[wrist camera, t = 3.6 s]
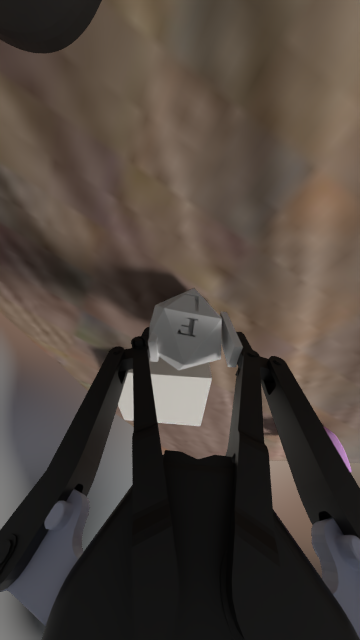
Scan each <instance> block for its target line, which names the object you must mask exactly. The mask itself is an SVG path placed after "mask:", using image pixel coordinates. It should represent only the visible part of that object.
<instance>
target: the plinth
mask: <svg viewBox="0 0 360 640" xmlns="http://www.w3.org/2000/svg"><path fill="white" fill-rule="evenodd" d="M149 366H150V373H151V380H152V387H153V394H154V401H155V408H156V415H157V422H158V423H168V424H181V425H193V426H201V422H202V418H203V414H204V409H205V405H206V401H207V397H208V393H209V389H210V384H211V380H212V376H211V369H210V362H208V363H204V364H200V365H197V366H193V367H189V368H185V369H182V370H177V369H176V368H174V367H173V366H172V365H170V364H169V363H167V362H166V361H165V360H163V359H162V358H160V357H159V359H158V362H151V361H150V360H149ZM118 406H119V408H120V411H121V413H122V415H123V418H124V420H132V421H134V408H133V369H131V370H128V374H127V377H126V380H125V383H124V386H123V390H122V393H121V396H120V399H119V403H118Z"/></svg>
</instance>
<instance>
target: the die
mask: <svg viewBox="0 0 360 640" xmlns="http://www.w3.org/2000/svg"><path fill="white" fill-rule="evenodd" d="M221 327H222V318H221V316H220V315H219V314H218V313H217V312H216V311H215V310H214V309H213V308H212V307H211V306H210V305H209V303H208V302H207V301H206V300H205V299H204V298H203V297H202V296H201V295H200V294H199V293H198V292H197V290H196V289H195V288H193V289H190V290H188V291H186V292H184V293H181V294H179V295H177V296H175V297H172V298H170V299H168V300H166V301H163V302H161V303H159V304H157V305H155V308H154V311H153V315H152V319H151V323H150V330H149V337H150V335H151V332H152V333H154V334H156V335H158V354H159V357H160V358H162V359H163V360H165V361H166V362H167V363H169V364H170V365H172V366H173V367H174V368H176V369H177V370H182V369H185V368H189V367H193V366H197V365H200V364H204V363H208V362H212V361H215V360H219V359H221Z"/></svg>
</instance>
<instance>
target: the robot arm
mask: <svg viewBox="0 0 360 640" xmlns="http://www.w3.org/2000/svg"><path fill="white" fill-rule="evenodd" d="M101 1H102V0H0V39H1V40H3V41H4V42H6V43H8V44H10V45H12V46H14V47H16V48H19V49H21V50H25V51H28V52H33V53H52V52H55V51H59V50H61V49H63V48H65V47H67V46H68V45H70V44H72V43H73V42H74V41H75V40H76V39H77V38H78V37H79V36H80V35H81V34H82V33H83V32H84V31H85V29H86V28H87V26H88V25H89V24H90V22H91V20H92V19H93V17H94V15H95V14H96V11H97V9H98V7H99V5H100V3H101ZM220 316H221V318H222V327H221V344H222V347H223V351H224V354H225V358H226V361H227V365H228V367H236V365H237V364H238V370H237V372H236V376H237V377H236V385H235V394H234V402H233V410H232V418H231V427H230V435H229V443H228V449H227V453H226V456H219V455H213V456H209V457H206V458H202V459H195V458H193V457H191V456H189V455H187V454H185V453H183V452H179V451H169V450H165V453H164V455H162V450H161V443H160V436H159V429H158V422H157V415H156V408H155V401H154V394H153V387H152V380H151V373H150V366H149V360H150V361H151V362H158V359H159V354H158V335H156V334H154V333H152V332H151V335H150V337H149V330H150V327H147V328H146V329H145V330H144V332H143V334H142V336H138V337H135V338H133V339H132V341H131V344H132V348H131V349H126V350H124V348H123V347H114V348H112V349H111V350H110V351H109V353H108V355H107V357H106V359H105V360H104V362H103V364H102V366H101V368H100V370H99V372H98V374H97V376H96V378H95V379H94V381H93V383H92V385H91V387H90V389H89V391H88V393H87V395H86V397H85V399H84V400H83V402H82V404H81V406H80V408H79V410H78V412H77V414H76V415H75V418H74V419H73V421H72V423H71V425H70V427H69V429H68V431H67V433H66V434H65V436H64V438H63V440H62V442H61V444H60V446H59V448H58V450H57V452H56V453H55V455H54V457H53V459H52V461H51V463H50V465H49V467H48V469H47V471H46V472H45V473H44V474H43V476H42V477H41V478H40V480H39V481H38V482H37V484H36V485H35V486H34V487H33V489H32V490H31V491H30V492H29V494H28V495H27V496H26V498H25V499H24V500H23V502H22V503H21V504H20V505H19V507H18V508H17V509H16V511H15V512H14V513H13V514H12V516H11V517H10V518H9V520H8V521H7V522H6V524H5V525H4V526H3V527H2V529H1V530H0V592H2V591H6V590H7V591H9V592H11V594H13V595H14V596H15V597H16V598H17V599H18V600H19V601H20V602H21V603H22V604H23V605H24V606H25V607H26V608H27V609H28V610H29V611H30V612H31V613H32V614H33V615H34V616H35V617H37V618H38V619H39V620H40V621H41V622H42V623H43V624H44V625H45V630H44V633H43V637H42V640H360V488H359V487H358V485H357V483H356V481H355V480H354V478H353V476H352V475H351V473H350V471H349V469H348V468H347V466H346V464H345V463H344V461H343V459H342V458H341V456H340V454H339V452H338V451H337V449H336V447H335V446H334V444H333V442H332V441H331V439H330V437H329V435H328V434H327V432H326V430H325V429H324V427H323V425H322V423H321V422H320V420H319V418H318V417H317V415H316V413H315V412H314V410H313V408H312V406H311V405H310V403H309V401H308V400H307V398H306V396H305V395H304V393H303V391H302V389H301V388H300V386H299V384H298V383H297V381H296V379H295V378H294V376H293V374H292V372H291V371H290V369H289V367H288V366H287V364H286V362H285V361H284V360H282V359H281V358H279V357H276V356H271V357H270V358H269V359H267V358H263V357H260V356H259V354H258V353H257V352H255V351H254V350H252V348H251V346H250V344H249V343H248V341H247V339H246V337H245V335H244V334H243V333H242V332H236V331H235V329H234V327H233V325H232V322H231V320H230V318H229V316H228V314H227V312H221V313H220ZM131 369H133V408H134V433H133V437H132V444H133V445H132V449H133V450H132V455H133V456H132V457H133V485H132V486H131V488H130V489H129V490H128V492H127V493H126V494H125V496H124V497H123V499H122V500H121V501H120V503H119V504H118V505H117V507H116V508H115V510H114V511H113V512H112V514H111V515H110V516H109V518H108V519H107V521H106V522H105V523H104V525H103V526H102V527H101V529H100V530H99V532H98V533H97V534H96V536H95V537H94V538H93V540H92V541H91V542H90V544H89V545H88V547H87V548H86V550H85V551H84V552H83V548H82V534H83V529H84V526H85V523H86V520H87V517H88V514H89V500H88V498H87V494H88V492H89V490H90V488H91V485H92V483H93V481H94V478H95V475H96V472H97V470H98V467H99V463H100V460H101V457H102V454H103V450H104V447H105V444H106V441H107V438H108V435H109V431H110V428H111V425H112V422H113V419H114V415H115V412H116V409H117V406H118V403H119V399H120V396H121V393H122V390H123V386H124V383H125V380H126V377H127V374H128V370H131ZM261 384H262V387H263V390H264V393H265V396H266V399H267V402H268V405H269V408H270V411H271V413H272V416H273V419H274V422H275V425H276V428H277V431H278V434H279V437H280V440H281V443H282V446H283V449H284V452H285V455H286V458H287V461H288V464H289V467H290V469H291V472H292V475H293V478H294V481H295V484H296V487H297V490H298V493H299V495H300V498H301V501H302V503H303V505H304V507H305V510H306V512H307V514H308V517H309V518H310V521H311V523H312V525H313V526H312V545H313V548H314V550H315V552H316V554H317V556H318V557H319V559H320V563H321V568H322V578H321V577H320V575H319V574H318V573H317V572H316V570H315V568H314V567H313V565H312V564H311V563H310V561H309V560H308V558H307V557H306V556H305V554H304V553H303V551H302V550H301V548H300V547H299V546H298V544H297V543H296V541H295V540H294V538H293V537H292V536H291V534H290V533H289V531H288V530H287V528H286V527H285V526H284V524H283V523H282V521H281V520H280V518H279V517H278V516H277V514H276V513H275V512H274V510H273V508H272V493H271V480H270V465H269V453H268V448H267V446H266V445H265V444H264V434H263V415H262V395H261Z"/></svg>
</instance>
